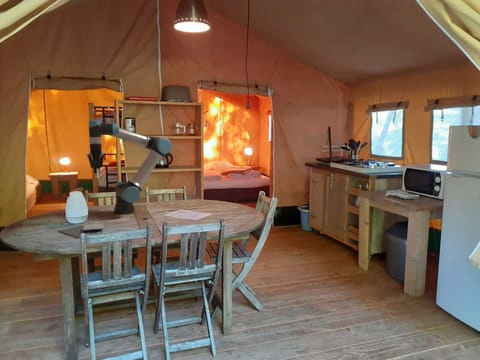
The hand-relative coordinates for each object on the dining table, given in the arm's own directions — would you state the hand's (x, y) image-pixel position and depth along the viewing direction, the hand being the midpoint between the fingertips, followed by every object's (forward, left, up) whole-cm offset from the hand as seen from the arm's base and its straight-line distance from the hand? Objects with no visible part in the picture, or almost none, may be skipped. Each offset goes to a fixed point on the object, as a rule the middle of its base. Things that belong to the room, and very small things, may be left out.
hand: (97, 178), depth 254 cm
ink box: (+15, +17, -28) cm, 35 cm away
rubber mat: (+24, +16, -29) cm, 41 cm away
